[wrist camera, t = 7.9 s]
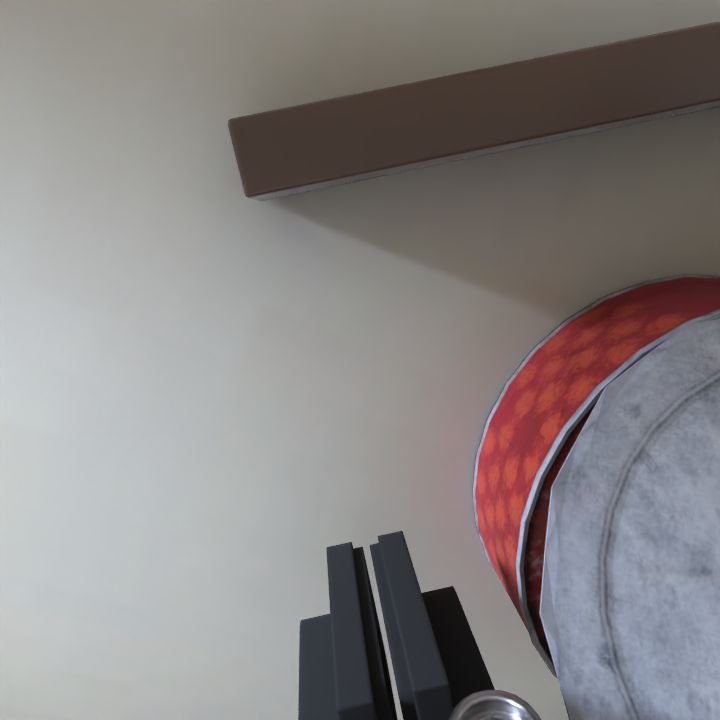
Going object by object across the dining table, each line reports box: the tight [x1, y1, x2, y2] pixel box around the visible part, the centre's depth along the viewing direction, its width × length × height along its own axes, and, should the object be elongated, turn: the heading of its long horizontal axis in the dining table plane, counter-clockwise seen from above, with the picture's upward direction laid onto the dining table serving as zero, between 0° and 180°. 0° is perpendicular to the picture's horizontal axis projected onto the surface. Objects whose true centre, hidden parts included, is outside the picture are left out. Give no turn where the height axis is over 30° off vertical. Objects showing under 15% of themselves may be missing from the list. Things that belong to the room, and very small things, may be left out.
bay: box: [228, 21, 720, 201], centre depth 12 cm, size 18×15×2 cm
